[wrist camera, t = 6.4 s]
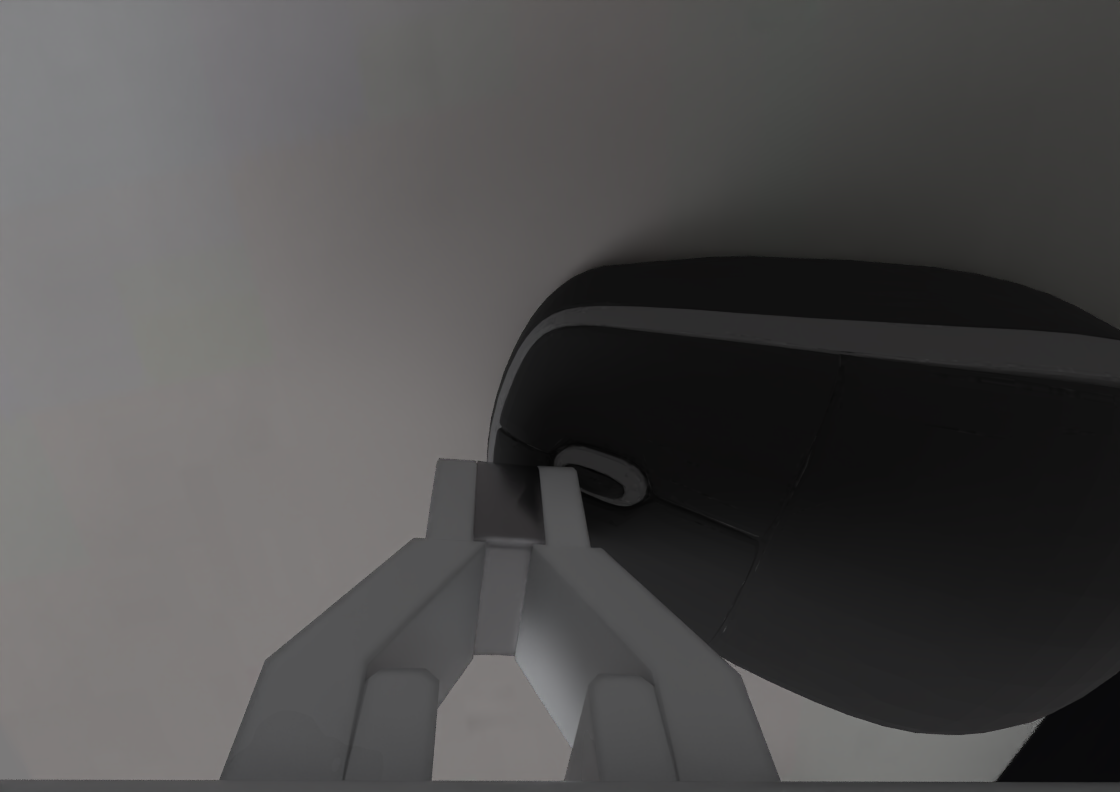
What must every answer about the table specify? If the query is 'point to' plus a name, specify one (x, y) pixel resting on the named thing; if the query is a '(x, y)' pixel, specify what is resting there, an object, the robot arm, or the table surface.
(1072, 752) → the straightedge
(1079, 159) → the table surface
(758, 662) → the computer mouse
